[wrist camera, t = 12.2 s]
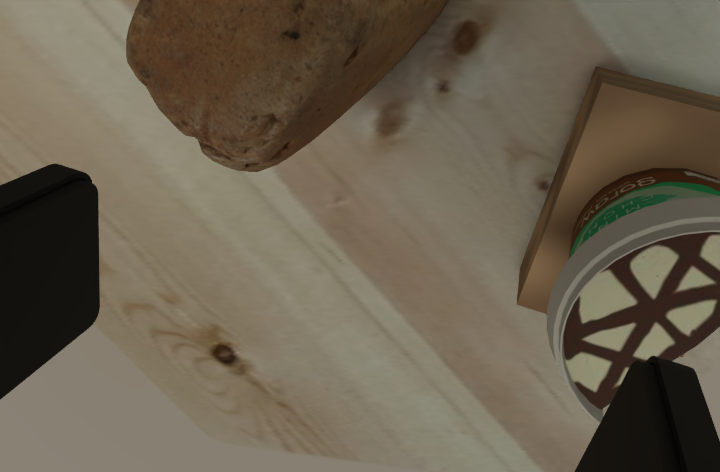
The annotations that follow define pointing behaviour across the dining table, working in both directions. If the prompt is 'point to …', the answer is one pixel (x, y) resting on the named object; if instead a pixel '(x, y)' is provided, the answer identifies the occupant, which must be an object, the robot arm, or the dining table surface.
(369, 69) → the brown lumpy post
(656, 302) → the food container
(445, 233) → the dining table surface
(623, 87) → the plinth
